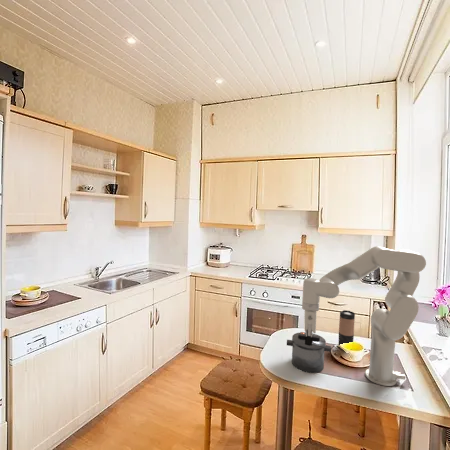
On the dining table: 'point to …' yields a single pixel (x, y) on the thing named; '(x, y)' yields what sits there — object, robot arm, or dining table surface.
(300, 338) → the lid
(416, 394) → the dining table surface
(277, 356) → the dining table surface
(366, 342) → the dining table surface
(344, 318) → the travel mug
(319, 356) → the cooker pot
